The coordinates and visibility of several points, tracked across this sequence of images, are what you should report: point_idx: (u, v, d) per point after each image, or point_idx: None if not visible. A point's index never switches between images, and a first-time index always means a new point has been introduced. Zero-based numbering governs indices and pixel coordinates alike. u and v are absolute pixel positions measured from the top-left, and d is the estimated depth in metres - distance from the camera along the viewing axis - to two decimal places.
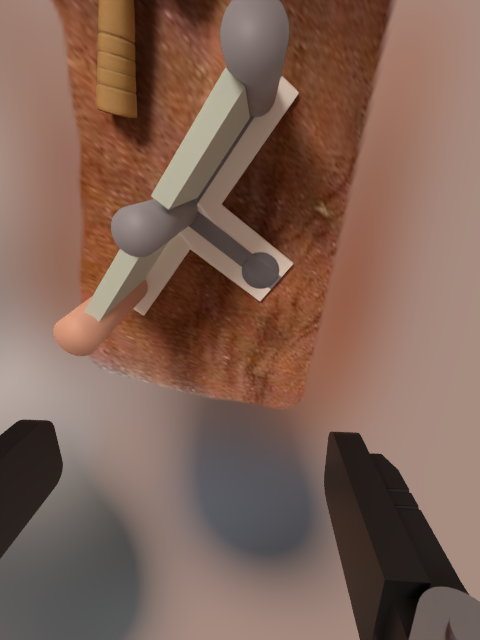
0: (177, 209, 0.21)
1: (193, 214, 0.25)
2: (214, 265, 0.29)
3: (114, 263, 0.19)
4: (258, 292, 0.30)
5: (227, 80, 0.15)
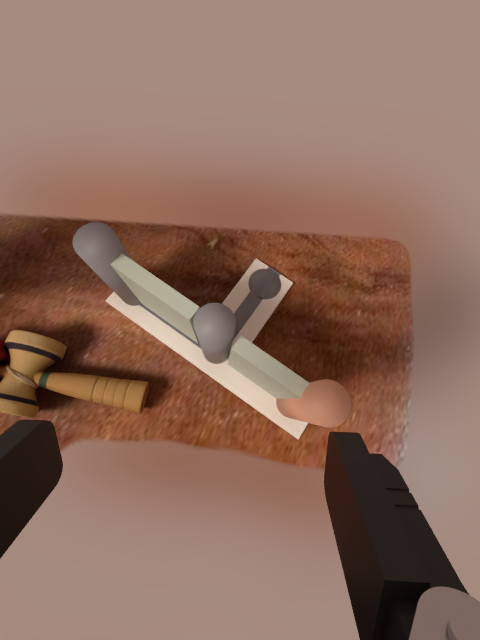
0: None
1: None
2: (263, 323, 0.32)
3: (247, 358, 0.21)
4: (284, 284, 0.33)
5: (117, 263, 0.22)
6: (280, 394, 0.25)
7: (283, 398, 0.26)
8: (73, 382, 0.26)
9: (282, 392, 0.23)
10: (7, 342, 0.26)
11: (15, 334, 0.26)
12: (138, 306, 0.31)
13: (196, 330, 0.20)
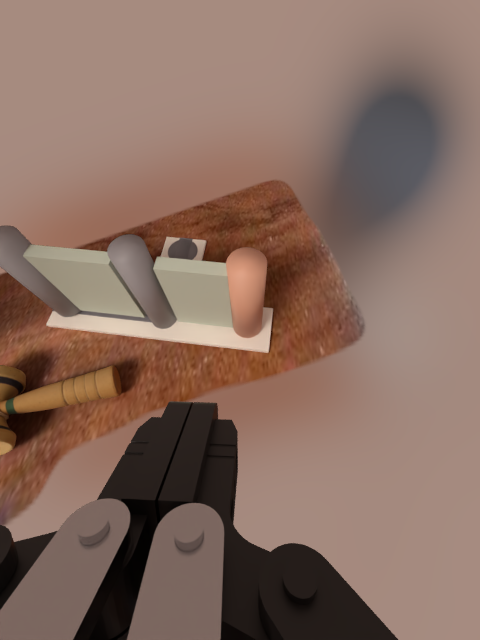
0: None
1: None
2: None
3: (170, 269, 0.23)
4: (199, 244, 0.37)
5: (28, 252, 0.24)
6: (224, 305, 0.27)
7: (230, 311, 0.28)
8: (40, 392, 0.26)
9: (220, 295, 0.25)
10: None
11: None
12: (79, 315, 0.33)
13: (113, 260, 0.22)
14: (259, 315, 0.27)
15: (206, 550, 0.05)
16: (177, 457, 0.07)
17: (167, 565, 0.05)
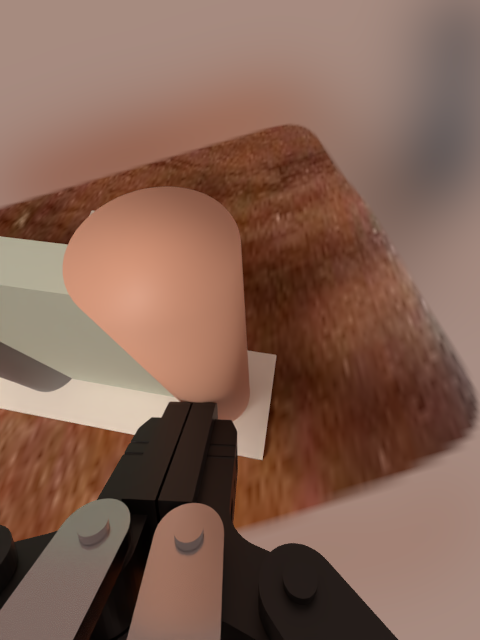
0: None
1: None
2: None
3: None
4: None
5: None
6: (142, 367, 0.10)
7: None
8: None
9: (116, 348, 0.09)
10: None
11: None
12: None
13: None
14: (236, 395, 0.10)
15: (206, 551, 0.05)
16: (177, 457, 0.07)
17: (167, 566, 0.05)
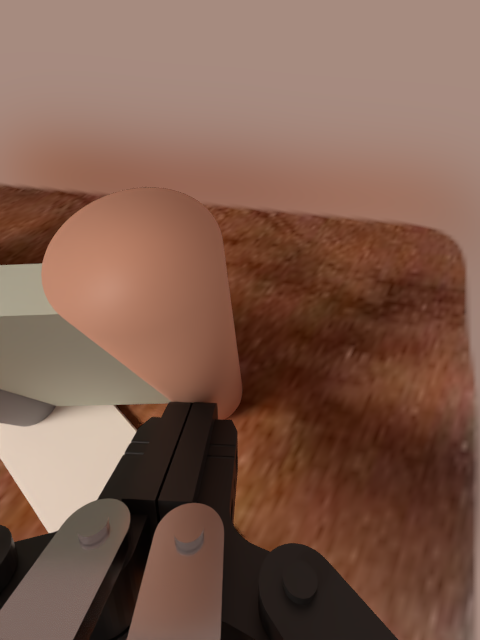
0: None
1: None
2: None
3: None
4: None
5: None
6: (133, 378, 0.10)
7: None
8: None
9: (104, 363, 0.08)
10: None
11: None
12: None
13: None
14: (232, 387, 0.10)
15: (206, 550, 0.05)
16: (177, 457, 0.07)
17: (167, 565, 0.05)
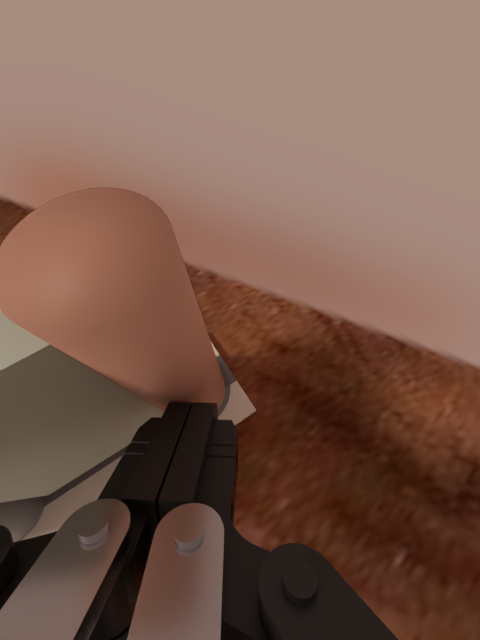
0: None
1: None
2: None
3: None
4: (234, 407, 0.14)
5: None
6: (122, 407, 0.09)
7: (147, 403, 0.10)
8: None
9: (90, 400, 0.08)
10: None
11: None
12: None
13: None
14: (215, 366, 0.11)
15: (206, 550, 0.05)
16: (177, 457, 0.07)
17: (167, 565, 0.05)
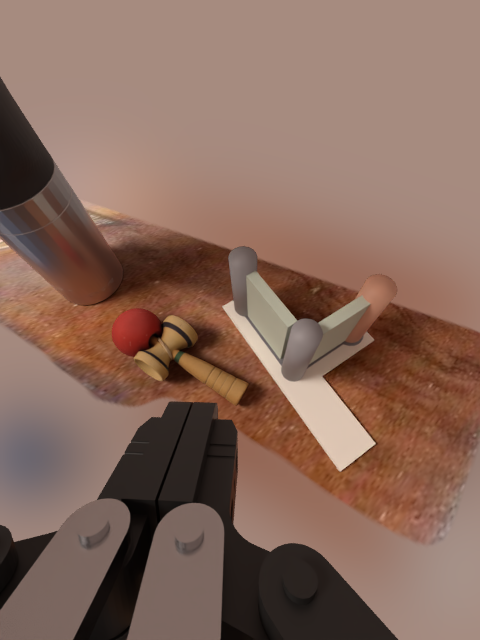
0: None
1: None
2: (338, 363, 0.37)
3: (333, 325, 0.28)
4: (366, 338, 0.38)
5: (250, 276, 0.31)
6: (352, 327, 0.33)
7: (353, 328, 0.34)
8: (197, 363, 0.35)
9: (355, 321, 0.32)
10: (165, 322, 0.36)
11: (173, 318, 0.36)
12: (244, 317, 0.40)
13: (292, 333, 0.27)
14: None
15: (206, 550, 0.05)
16: (177, 457, 0.07)
17: (167, 565, 0.05)
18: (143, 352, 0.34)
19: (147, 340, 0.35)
